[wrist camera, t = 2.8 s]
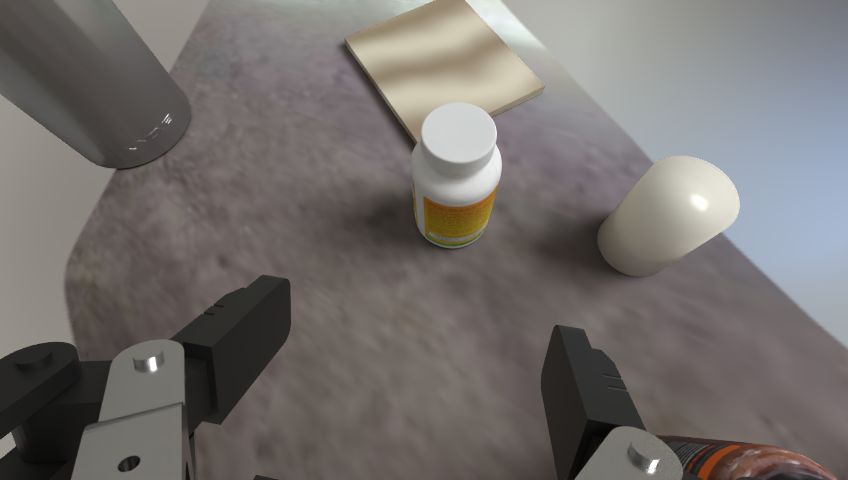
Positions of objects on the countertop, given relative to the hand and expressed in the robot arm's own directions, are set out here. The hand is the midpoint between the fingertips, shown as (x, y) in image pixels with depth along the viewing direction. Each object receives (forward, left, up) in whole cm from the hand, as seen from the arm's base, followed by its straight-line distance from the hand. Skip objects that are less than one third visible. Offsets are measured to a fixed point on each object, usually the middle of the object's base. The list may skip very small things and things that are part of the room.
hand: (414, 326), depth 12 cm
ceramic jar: (+6, +16, -14) cm, 22 cm away
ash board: (-16, +21, -14) cm, 30 cm away
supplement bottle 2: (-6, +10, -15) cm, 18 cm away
